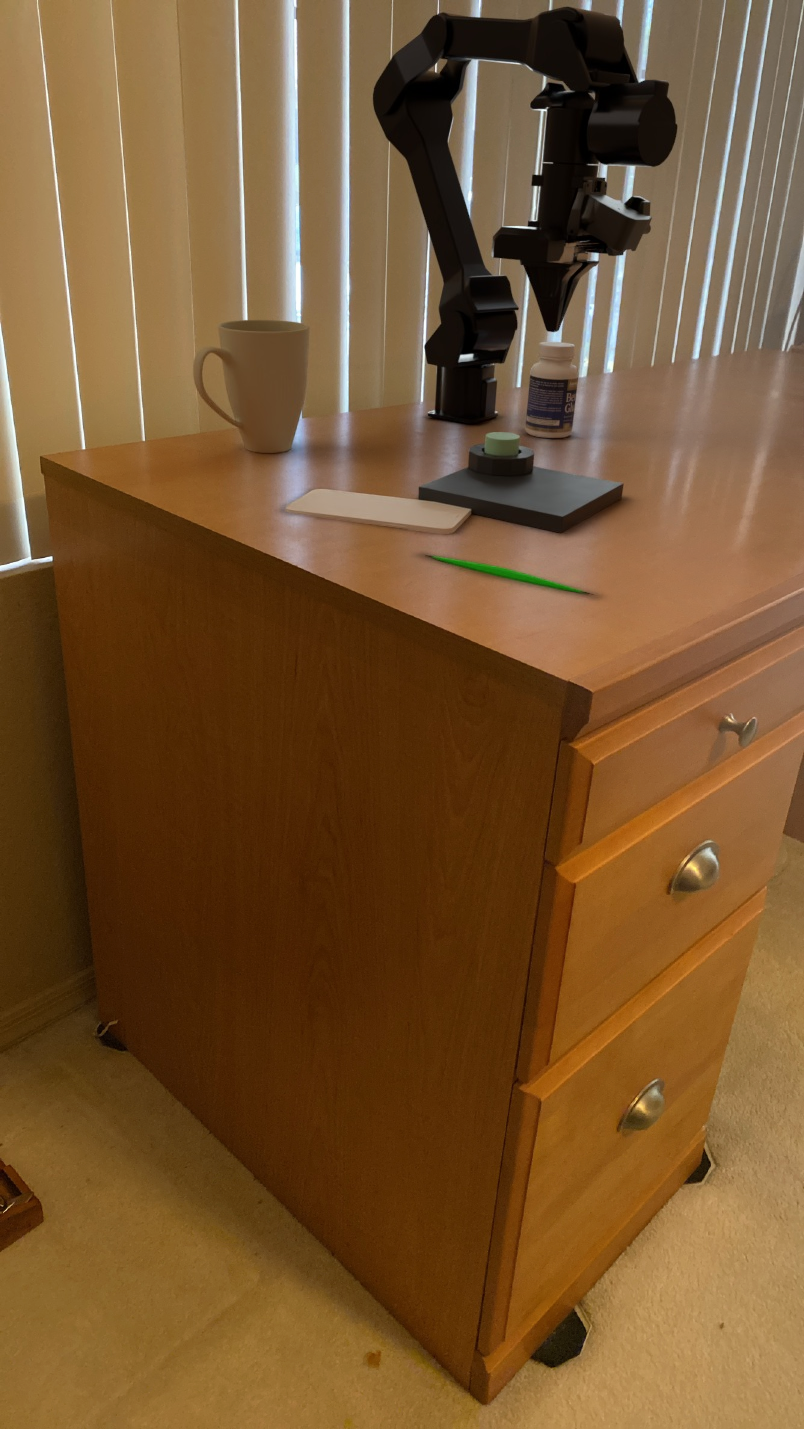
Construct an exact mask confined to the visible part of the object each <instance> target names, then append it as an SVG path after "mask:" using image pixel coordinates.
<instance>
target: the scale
mask: <svg viewBox="0 0 804 1429" xmlns="http://www.w3.org/2000/svg"><path fill="white" fill-rule="evenodd" d="M484 451H485V443H477V444H474V445H471V446H469V447H468V458H467V459H468V461H467V467H464V468H462V469H459V470H456V471H455V472H452V473H450V474H447V475H444V476H442V477H440V478H437V479H435V480H432V481H428V482H427V483H424V484H422V485H419V486H418V495H417V496H418V499H417V500H424V501H433V502H438V503H443V504H448V505H453V506H458V507H463V508H468V509H471V515H475V516H476V515H477V516H480V517H481V516H482V517H486V518H489V519H490V518H491V519H495V520H499V521H504V522H508V523H512V524H513V523H514V524H517V525H522V526H527V527H532V528H536V529H540V530H545V531H549V532H554V533H559V534H563V533H564V532H566V531H567V530H569V529H571V528H573V527H574V526H576V525H577V524H579V523H581V522H583V521H585V520H586V519H588V518H590V517H592V516H593V515H595V514H596V513H598V512H600V511H602V510H604V509H605V508H608V507H609V506H610V505H612V504H614V503H616V502H617V501H619V500H621V499H622V498H623V492H624V484H625V483H624V482H619V481H613V480H607V479H602V478H597V477H591V476H587V475H581V474H576V473H571V472H565V471H560V470H554V469H549V468H543V467H538V466H534V464H535V463H534V461H535V452H534V450H533V449H531V448H529V447H527V446H525V445H520V444H519V452H518V455H511V456H498V455H492V454H487V453H485V452H484Z"/></svg>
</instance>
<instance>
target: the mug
mask: <svg viewBox="0 0 804 1429" xmlns="http://www.w3.org/2000/svg"><path fill="white" fill-rule="evenodd" d="M217 329H218V338H219V346H220V347H217V346H205V347H201V348H200V349H199V350H198V351H197V352H196V354H195V356H194V358H193V363H192V364H193V365H192V375H193V381H194V385H195V388H196V391H197V392H198V395H199V396H200V398H201V399H202V400H203V401H204V402H205V404H206V405H207V406H208V407H209V408H210V409H211V410H213V411H214V412H215V413H216V414H217V415H218V416H219V417H221V418H222V419H224V420H225V421H226V422H227V423H229V424H230V425H232V426H234V427H236V428H237V429H238V431H239V434H240V437H241V440H242V443H243V446H244V448H245V449H246V450H247V451H249V452H253V453H260V454H273V453H274V454H277V453H283V452H288V451H289V450H291V449H292V447H293V443H294V441H295V436H296V433H297V429H298V426H299V422H300V419H301V415H302V411H303V407H304V402H305V399H306V393H307V382H308V371H309V370H308V368H309V365H308V364H309V346H310V325H308V324H305V323H302V322H297V321H291V320H290V321H289V320H280V319H279V320H278V319H241V320H240V319H239V320H233V321H232V320H231V321H225V322H224V321H223V322H220V323H219V324H218V325H217ZM209 354H214V355H216V356H217V357H218V358H220V360H221V361H222V371H223V377H224V386H225V391H226V396H227V400H228V402H229V406H230V409H231V412H232V414H233V418H232V417H231V416H229V415H228V413H226V412H225V411H224V410H223V409H222V408H221V407H219V405H217V404H216V402H215V401H214V400H212V398H211V397H210V396H209V394H208V393H207V390H206V388H205V385H204V380H203V370H204V362H205V359H206V358H207V357H208V355H209Z"/></svg>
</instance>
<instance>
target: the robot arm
mask: <svg viewBox="0 0 804 1429" xmlns="http://www.w3.org/2000/svg"><path fill="white" fill-rule="evenodd" d="M440 60H446V63H445V64H444V66H443V67H442V68H441V70H440V71H439V73H438V72H436V71H434V70H431V69H432V68H433V67H434V66H436V65H437V63H438V62H439V61H440ZM472 61H483V62H493V63H503V64H512V65H513V64H514V65H522V66H524V67H527V68H528V69H529V70H530V71H532V72H533V73H536V74H538V75H540V76H542V77H545V78H547V79H550V80H553V81H557V82H551V81H548V82H547V83H546V84H545V86H544V88H543V89H542V90H541V91H540V92H539V93H538V94H537V95H536V96H535V97H534V98H533V99H532V100H531V101H530V103H529V108H530V109H531V110H532V111H542V112H545V122H544V130H543V142H542V152H541V153H542V154H541V165H540V174H531V184H530V186H531V187H538V194H537V205H536V218H535V220H527V226H524V225H523V226H522V225H514V226H513V225H511V226H510V225H509V226H501V227H500V228H498V230H497V231H496V232H495V233H494V234H493V235H492V243H491V256H490V257H491V258H494V259H503V260H512V261H513V260H515V261H519V265H521V266H523V268H524V271H525V273H526V275H527V278H528V282H529V284H530V286H531V288H532V291H533V295H534V297H535V301H536V303H537V306H538V310H539V312H540V316H541V318H542V323H543V325H544V328H545V331H546V332H549V333H556V332H559V331H560V329H561V326H562V324H563V321H564V318H565V316H566V314H567V311H568V308H569V306H570V303H571V300H572V298H573V295H574V293H575V291H576V289H577V286H578V284H579V281H580V280H581V278H583V277H584V275H586V274H587V273H588V272H589V271H590V270H591V269H593V268H594V267H597V266H598V265H599V263H600V260H593V259H589V253H592V254H602V255H604V254H605V255H608V257H620V256H624V254H625V252H626V251H629V250H630V251H632V252H636V250H637V248H638V247H639V244H640V242H641V240H642V238H643V236H644V235H647V234H649V233H650V232H651V230H652V226H651V221H652V220H653V217H652V216H651V201H649V200H648V199H647V198H644V197H642V196H640V195H632V196H630V197H629V198H628V199H627V200H626V201H625V202H624V203H623V201H622V200H621V199H614V198H612V197H611V196H609V195H607V191H608V181H606V177H599V171H600V164H601V165H604V166H613V167H615V166H618V167H643V168H644V167H646V168H647V167H648V168H655V167H659V166H661V165H662V164H663V163H665V161H666V160H667V159H668V158H669V156H670V154H671V152H672V151H673V148H674V145H675V143H676V138H677V136H678V135H677V134H678V124H677V123H676V122H677V118H676V117H677V116H676V112H675V107H674V105H673V103H672V100H671V99H670V97H668V95H669V88H670V83H669V80H668V81H667V80H661V79H644V80H642V81H639V79H638V77H637V74H636V71H635V69H634V66H633V63H632V61H631V58H630V56H629V53H628V51H627V47H626V45H625V36H624V29H623V26H622V25H621V20H620V19H619V17H617V16H616V15H614V14H610V13H605V12H599V11H593V10H588V9H584V8H578V7H573V6H562V7H557V8H553V9H550V10H546V11H545V10H544V11H541V12H539V13H538V14H537V15H535V16H534V17H531V18H530V17H529V18H526V19H518V18H516V19H515V18H499V17H498V18H497V17H484V16H483V17H481V16H480V17H479V16H467V15H463V14H462V15H461V14H456V13H450V12H444V11H443V12H439V13H437V14H434V15H432V16H431V18H429V20H428V21H427V22H426V24H425V25H424V28H423V29H422V30H421V32H420V33H419V34H418V35H417V36H415V37H414V38H413V39H412V40H410V41H409V42H407V44H406V45H404V46H403V47H402V48H400V49H398V50H397V51H396V52H395V53H394V54H393V56H391V59H390V60H389V61H388V63H387V64H386V66H385V68H384V69H383V71H382V73H381V74H380V75H379V77H378V79H377V81H376V82H375V84H374V86H373V92H372V107H373V111H374V114H375V117H376V119H377V121H378V123H379V126H380V127H381V131H382V132H383V134H384V137H385V138H386V140H387V141H388V142H389V143H390V144H391V145H392V147H393V148H394V149H396V151H397V152H398V153H399V154H400V155H401V157H403V159H405V161H406V163H407V166H408V170H409V173H410V176H411V179H412V182H413V186H414V189H415V193H416V195H417V199H418V202H419V205H420V209H421V212H422V216H423V219H424V222H425V225H426V228H427V232H428V235H429V238H430V242H431V245H432V248H433V252H434V255H435V258H436V262H437V264H438V268H439V271H440V275H441V277H442V282H443V285H442V289H441V293H440V294H441V295H440V297H439V298H440V299H439V302H438V303H439V304H438V314H439V319H440V324H439V325H438V327H437V328H435V330H434V332H433V333H432V334H431V336H430V337H429V338H428V339H427V341H426V342H425V343H424V346H423V348H424V352H425V361H426V363H427V364H428V365H431V366H436V375H435V376H436V377H435V396H434V397H435V398H434V409H433V410H430V411H428V412H427V417H430V418H435V419H440V420H441V419H442V420H447V421H452V422H457V423H458V422H459V423H465V424H470V425H471V424H472V425H473V424H478V423H480V422H483V421H486V420H489V419H492V418H495V417H497V416H499V412H498V411H496V404H497V403H496V402H497V391H498V390H497V389H498V379H497V378H495V370H496V365H495V364H498V365H499V364H500V365H503V364H505V362H506V361H507V360H506V359H507V356H508V354H509V352H510V348H511V345H512V342H513V340H514V339H515V335H516V331H517V330H518V327H519V326H518V324H519V322H518V316H517V313H516V312H517V311H519V309H520V307H519V305H518V304H517V303H516V301H515V298H514V296H513V291H512V285H511V281H510V280H509V278H508V276H507V275H506V274H498V275H493V274H492V273H491V272H490V271H489V270H488V268H486V265H485V262H484V259H483V256H482V252H481V249H480V245H479V242H478V239H477V236H476V233H475V229H474V227H473V223H472V220H471V216H470V213H469V209H468V206H467V202H466V199H465V197H464V193H463V190H462V186H461V183H460V179H459V177H458V173H457V170H456V167H455V163H454V160H453V156H452V154H451V150H450V146H449V141H450V136H451V131H452V127H453V123H454V115H453V114H454V112H453V107H452V105H453V104H454V102H455V101H456V99H457V98H458V96H459V95H460V94H461V93H462V92H463V89H464V83H465V78H466V72H467V68H468V66H469V65H470V63H471V62H472ZM560 82H562V83H560ZM565 86H566V87H567V88H568V89H569V90H567V89H566V87H565ZM591 94H592V95H593V94H594V97H593V96H592V95H591Z"/></svg>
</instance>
